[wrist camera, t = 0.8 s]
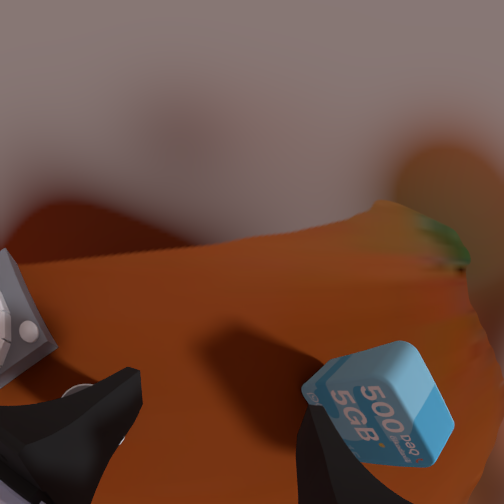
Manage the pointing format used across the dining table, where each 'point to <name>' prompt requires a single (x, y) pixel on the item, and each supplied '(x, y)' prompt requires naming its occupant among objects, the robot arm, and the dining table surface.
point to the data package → (384, 405)
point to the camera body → (19, 324)
